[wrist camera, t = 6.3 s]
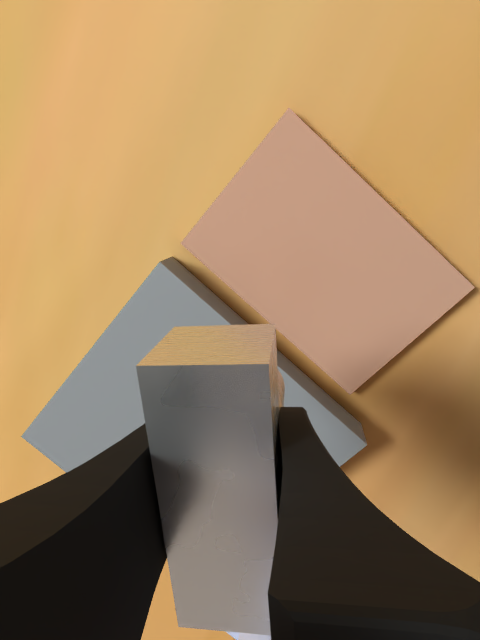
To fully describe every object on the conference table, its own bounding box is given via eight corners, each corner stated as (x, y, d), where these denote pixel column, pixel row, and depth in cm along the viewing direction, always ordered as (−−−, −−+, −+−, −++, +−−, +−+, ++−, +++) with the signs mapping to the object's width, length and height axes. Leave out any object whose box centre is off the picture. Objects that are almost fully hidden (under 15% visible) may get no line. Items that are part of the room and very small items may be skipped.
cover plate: (361, 423, 21) (367, 444, 20) (206, 550, 26) (199, 578, 24) (172, 256, 20) (159, 261, 18) (42, 418, 24) (21, 436, 23)
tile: (469, 284, 19) (474, 287, 18) (348, 389, 21) (350, 394, 20) (289, 110, 18) (288, 107, 17) (183, 242, 20) (180, 243, 19)
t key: (288, 469, 15) (284, 636, 9) (222, 467, 15) (178, 626, 9) (280, 292, 13) (268, 363, 7) (204, 295, 13) (135, 365, 7)
